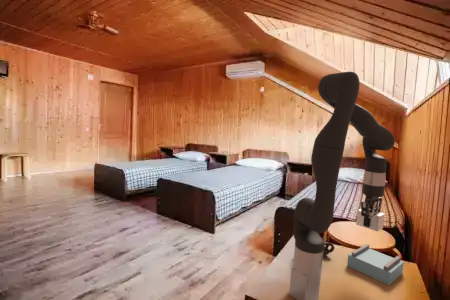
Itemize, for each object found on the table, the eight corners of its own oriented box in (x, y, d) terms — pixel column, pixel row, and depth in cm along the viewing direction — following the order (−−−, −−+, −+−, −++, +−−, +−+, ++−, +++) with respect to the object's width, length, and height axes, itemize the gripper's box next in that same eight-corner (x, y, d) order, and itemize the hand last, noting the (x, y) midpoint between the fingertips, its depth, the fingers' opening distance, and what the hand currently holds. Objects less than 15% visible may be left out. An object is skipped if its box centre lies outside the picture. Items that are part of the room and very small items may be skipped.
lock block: (377, 231, 98) (379, 216, 98) (356, 224, 104) (357, 210, 104) (383, 228, 101) (384, 213, 101) (361, 221, 108) (363, 207, 107)
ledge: (389, 285, 97) (391, 268, 97) (347, 265, 110) (348, 251, 109) (402, 273, 106) (404, 258, 106) (362, 256, 119) (363, 242, 118)
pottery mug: (307, 258, 116) (304, 238, 119) (309, 258, 124) (306, 240, 127) (336, 257, 112) (332, 236, 115) (336, 257, 120) (333, 238, 123)
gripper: (376, 187, 94) (371, 232, 96) (391, 182, 102) (387, 224, 104) (355, 183, 99) (351, 225, 101) (371, 178, 108) (367, 218, 110)
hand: (369, 224), depth 103 cm, fingers closed on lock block, 5 cm apart
